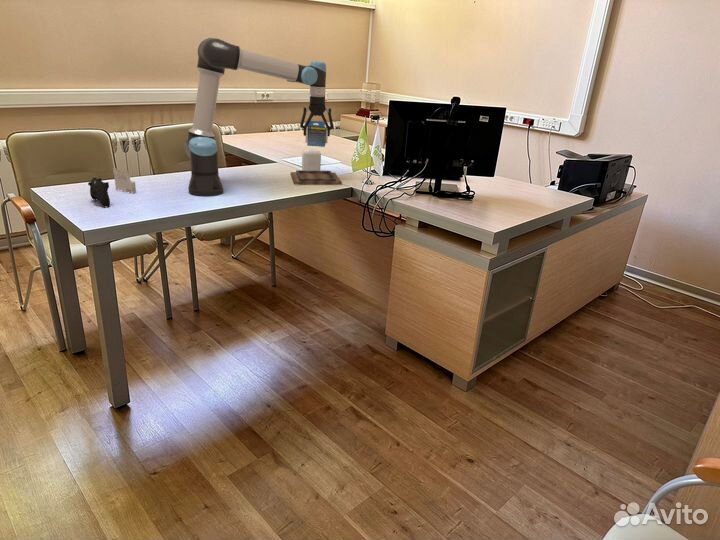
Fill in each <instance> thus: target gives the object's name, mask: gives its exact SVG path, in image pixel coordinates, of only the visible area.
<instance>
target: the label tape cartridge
mask: <svg viewBox="0 0 720 540" xmlns="http://www.w3.org/2000/svg"><path fill="white" fill-rule="evenodd" d="M306 129H308V143H306V144H307V145H306V146H307V147H321V148H325V147H326V143H325V142H326V129H327V128H326V125H325V122H324V121H320V120H319V121H317V120H311V121H310V123H309V124H308V126H307V128H306Z"/></svg>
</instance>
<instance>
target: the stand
mask: <svg viewBox="0 0 720 540" xmlns="http://www.w3.org/2000/svg"><path fill="white" fill-rule="evenodd" d="M290 177H291V180H292V183H293V185H294V184H298V185H297V186H299V185H303V186H304V185H305V186H307V185H309V186H310V185H311V186H314V185H315V186H320V185H321V186H342V185H343V182H342V180H341V179H340V178H339V176H338V174H337V173H336V172H332V170H320V171H303V170H302V169H301V170H300V169H299V170H296V171H290Z"/></svg>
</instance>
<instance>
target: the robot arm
mask: <svg viewBox="0 0 720 540" xmlns="http://www.w3.org/2000/svg"><path fill="white" fill-rule="evenodd" d="M197 57H198V59H197V65H196V68H197V70H198V72H199V78H198V86H197V90H196V91H197V93H196V99H195V105H194V115H193V122H192V127H190V128H189V129H188V131H187V139H186V141H185V142H184V150H185V154H186V156H187V157H188V158H189V160H190V172H191V173H190V174H191V176H190V179H189V183H188V194H190V195H193V196H199V197H213V195H214V196H218V195H221V194H223V193H224V185H223V183H222V180H221V177H220V175H219V162H218V161H219V160H218V159H219V158H218V143H217V141H216V140H215V137H216V135H215V134H214V133H213V127H214V121H215V113H216V108H217V107H216V106H217V101H218V94H219V86H220V81H221V80H220V79H221V77H223V76H224V75H225V71H226V69H227V70H232V71H238V70H244V71H247V72H248V71H249V72H253V73H256V74H262V75H266V76H268V77H269V76H270V77H275V78H278V79H282V80H286V81H287V82H288V83H289V82H290V83H299V84H303V85H307V86H309V95H310V96H309V105H308V106H303V107H302V111H303V112H302V116H301V119H300V124H299V127H300V128H301V129H302V130H303V132H302V133H303V134H302V135H303V136H304V137H305V139H304V140H305V141H304V142H305V143H306V144H307V143H308V129H307V127H308V124H309V123H310V121H312V118H313V117H316V116H318V117H321V119H322V122H325V129H326V142H325V144H328V139H329V138H328V137H330V136H331V130H332V129H334V128H335V127H334V122H333V118H332V108H331V107H326V88H327V87H326V84H327V83H326V79H327V65H326V62H324V61H310V64H309V65H302V64H298V63H296V62H290V61H288V60H283V59H280V58H275V57H272V56H267V55H263V54H260V53H257V52H252V51H248V50H244V49H242V48H241V46H238V45H236V44H232V43H230V42H227V41H224V40H222V39H219V38H214V37H208V38H205V39H203V40H202V41H201V42H200V43H199V45H198V47H197ZM308 111H309V112H310V114H309V116H308V118H307V119H306V116H307V113H308ZM325 112H326V113H327V116H328V121H329V122H328V121H327V118H326V116H325V114H324V113H325ZM305 120H306V121H305Z"/></svg>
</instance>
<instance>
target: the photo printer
mask: <svg viewBox="0 0 720 540" xmlns="http://www.w3.org/2000/svg"><path fill="white" fill-rule="evenodd" d="M321 153H322V152H321V150H318V149H314V148H313V149H312V148H310V149H308V148H307V149H304V150H303V151H302V154H301V155H302V156H301V170H303V171H321V165H322V164H321V161H322V154H321Z"/></svg>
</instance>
